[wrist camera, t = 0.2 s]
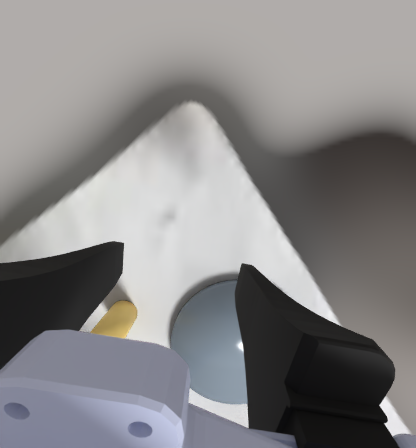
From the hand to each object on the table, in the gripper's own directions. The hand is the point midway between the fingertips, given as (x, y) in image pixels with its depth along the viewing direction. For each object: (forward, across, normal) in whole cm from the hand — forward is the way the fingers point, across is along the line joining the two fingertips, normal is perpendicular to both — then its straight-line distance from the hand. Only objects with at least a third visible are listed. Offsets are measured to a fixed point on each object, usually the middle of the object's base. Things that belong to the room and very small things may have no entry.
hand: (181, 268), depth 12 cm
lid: (+8, -7, +14) cm, 18 cm away
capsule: (+8, +7, +12) cm, 16 cm away
